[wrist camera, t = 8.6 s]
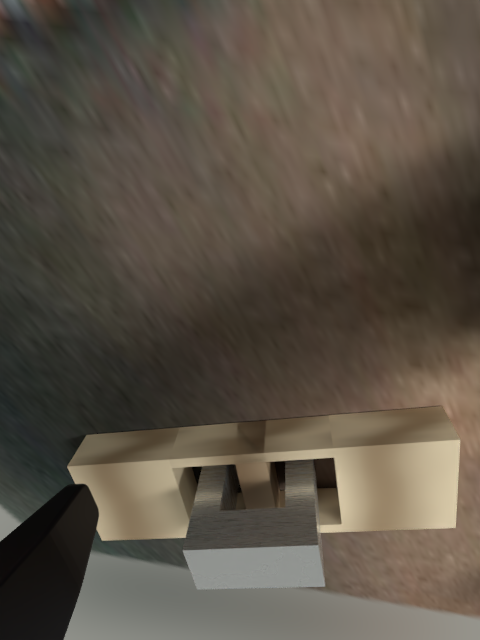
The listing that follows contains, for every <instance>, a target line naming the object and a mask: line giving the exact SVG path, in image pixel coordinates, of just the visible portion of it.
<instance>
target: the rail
mask: <svg viewBox="0 0 480 640" xmlns="http://www.w3.org/2000/svg"><path fill="white" fill-rule="evenodd" d="M459 454H460V438H459V436H458V435H457V433H456V431H455V429H454V427H453V425H452V423H451V421H450V419H449V418H448V416H447V414H446V412H445V410H444V408H443V406H437V407H424V408H412V409H400V410H388V411H375V412H363V413H351V414H338V415H326V416H314V417H301V418H289V419H277V420H264V421H252V422H240V423H227V424H215V425H203V426H190V427H178V428H166V429H153V430H141V431H129V432H117V433H104V434H92V435H86V437H85V438H84V440H83V441H82V443H81V445H80V446H79V448H78V450H77V451H76V453H75V454H74V456H73V458H72V459H71V461H70V463H69V464H68V466H67V467H68V470H69V472H70V474H71V476H72V478H73V480H74V482H75V484H86V485H87V486H88V487H89V489H90V491H91V493H92V496H93V498H94V500H95V502H96V504H97V506H98V510H99V519H98V524H97V528H96V529H97V531H98V533H99V535H100V537H101V539H102V541H106V540H133V539H161V538H186V534H187V530H188V525H189V521H190V517H191V512H192V508H193V504H194V500H195V495H196V491H197V487H198V486H197V482H196V479H195V476H194V472H193V469H192V467H197V466H213V465H228V464H235V466H236V470H237V474H238V478H239V482H240V486H241V490H242V493H238V496H237V504H236V510H245V509H263V508H281V507H285V490H282V491H280V489H279V484H278V479H277V474H276V468H275V463H274V461H290V460H305V459H321V458H333V459H334V467H335V476H336V485H337V488H319V489H317V494H318V506H319V518H320V530H321V533H327V532H355V531H382V530H410V529H437V528H456V510H457V491H458V473H459Z"/></svg>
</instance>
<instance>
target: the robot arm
mask: <svg viewBox="0 0 480 640" xmlns="http://www.w3.org/2000/svg"><path fill="white" fill-rule="evenodd" d="M98 519H99V510H98V506H97V504H96V502H95V500H94V498H93V496H92V493H91V491H90V489H89V487H88V486H87V485H86V484H70V485H67V486H66V487H64V488H63V489H62V490H61V491H60V492H59V493H57V494H56V495H55V496H54V497H53V498H51V499H50V500H49V501H48V502H47V503H46V504H44V505H43V506H42V507H41V508H40V509H38V510H37V511H36V512H35V513H34V514H33V515H31V516H30V517H29V518H28V519H27V520H25V521H24V522H23V523H22V524H21V525H20V526H18V527H17V528H16V529H15V530H14V531H12V532H11V533H10V534H9V535H8V536H7V537H5V538H4V539H3V540H2V541H1V542H0V640H63V639H64V637H65V633H66V631H67V628H68V625H69V622H70V619H71V617H72V614H73V611H74V608H75V605H76V602H77V599H78V596H79V593H80V590H81V586H82V583H83V579H84V575H85V571H86V567H87V563H88V559H89V556H90V552H91V548H92V544H93V540H94V536H95V532H96V528H97V524H98Z"/></svg>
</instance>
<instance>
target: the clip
mask: <svg viewBox="0 0 480 640" xmlns="http://www.w3.org/2000/svg"><path fill="white" fill-rule="evenodd" d="M238 488H239V478H238V474H237V470H236V466H235V464H228V465H213V466H202V470H201V474H200V478H199V483H198V487H197V491H196V495H195V500H194V504H193V508H192V512H191V517H190V521H189V525H188V530H187V534H186V538H185V542H184V547H183V553H184V555H185V558H186V561H187V563H188V566H189V569H190V571H191V574H192V576H193V579H194V582H195V584H196V587H197V589H236V588H281V587H325V577H324V565H323V553H322V541H321V530H320V518H319V506H318V494H317V482H316V472H315V466H314V460H313V459H305V460H290V461H285V507H281V508H263V509H245V510H236V504H237V496H238Z"/></svg>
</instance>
